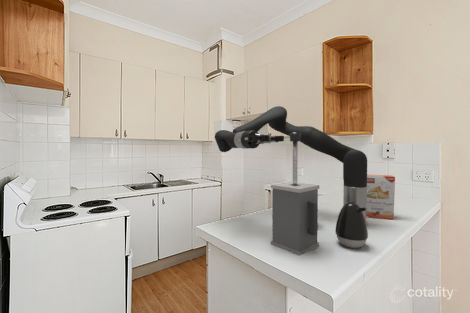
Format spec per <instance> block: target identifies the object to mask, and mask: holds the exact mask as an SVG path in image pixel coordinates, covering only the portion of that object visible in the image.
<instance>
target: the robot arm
mask: <svg viewBox="0 0 470 313" xmlns="http://www.w3.org/2000/svg"><path fill="white" fill-rule="evenodd" d="M287 117H288V111H287V109H286V108H285V107H283V106H280V105H278V106H274V107H272V108H270V109H268V110H266V111H265V112H263V113H262V114H260V115H259V116H257V117H256V118H254V119H253V120H250V121H249V122H246V123H244V124H243V125H240V126H238V127H235V128H233V129H232V131H230V130H227V129H226V130H225V129H221V130H218V131H216V132H215V134H214V139H215V143H216V145H217V147H218V150H219V151H220V152H222V153H227V152H229V151H231V150H232V149H257V148H258V147H259V146H260V145H264V144H271V143H279V142H284V141H285V136H284V135H286V136H288V137H290V133H291V132H301V141H299V142H300V143H302V144H304V145H305V146H306V147H309V148H311V149H312V150H314V151H317V152H320V153H322V154H325V155H327V156H329V157H332V158H334V159H336V160H337V161H339V162H341V163H342V169H343V170H342V171H343V172H342V174H343V175H342V180H343V196H342V197H343V205H342V207H343V206H344V204H346V203H348V202H354V203H356V204H358V205H359V207H360V208H364V207H365V208H366V210H365V211H362V212H363V215H364V217H365V221H366V222H367V217H366V214H367V174H368V157H367V154H366V153H364V151H361V150H359V149H355V148H352V147H351V146H348V145H345V144H343V143H341V142H340V141H338V140H336V139H335V138H333V137H332V136H330V135H329V134H327V133H326V132H323V131H322V130H319V129H317V128H315V127H314V126H309V125H302V126H300V125H299V126H297V125H293V124H292V123H290V122H288V121H287V119H288V118H287ZM266 125H268V126H269V128H271V130H272V129H273V130H274V131H277V132H279V133H281V134H284V135H271V134H262V133H261V134H259V131H260V130H261V129H262V128H264V127H265V126H266Z"/></svg>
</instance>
